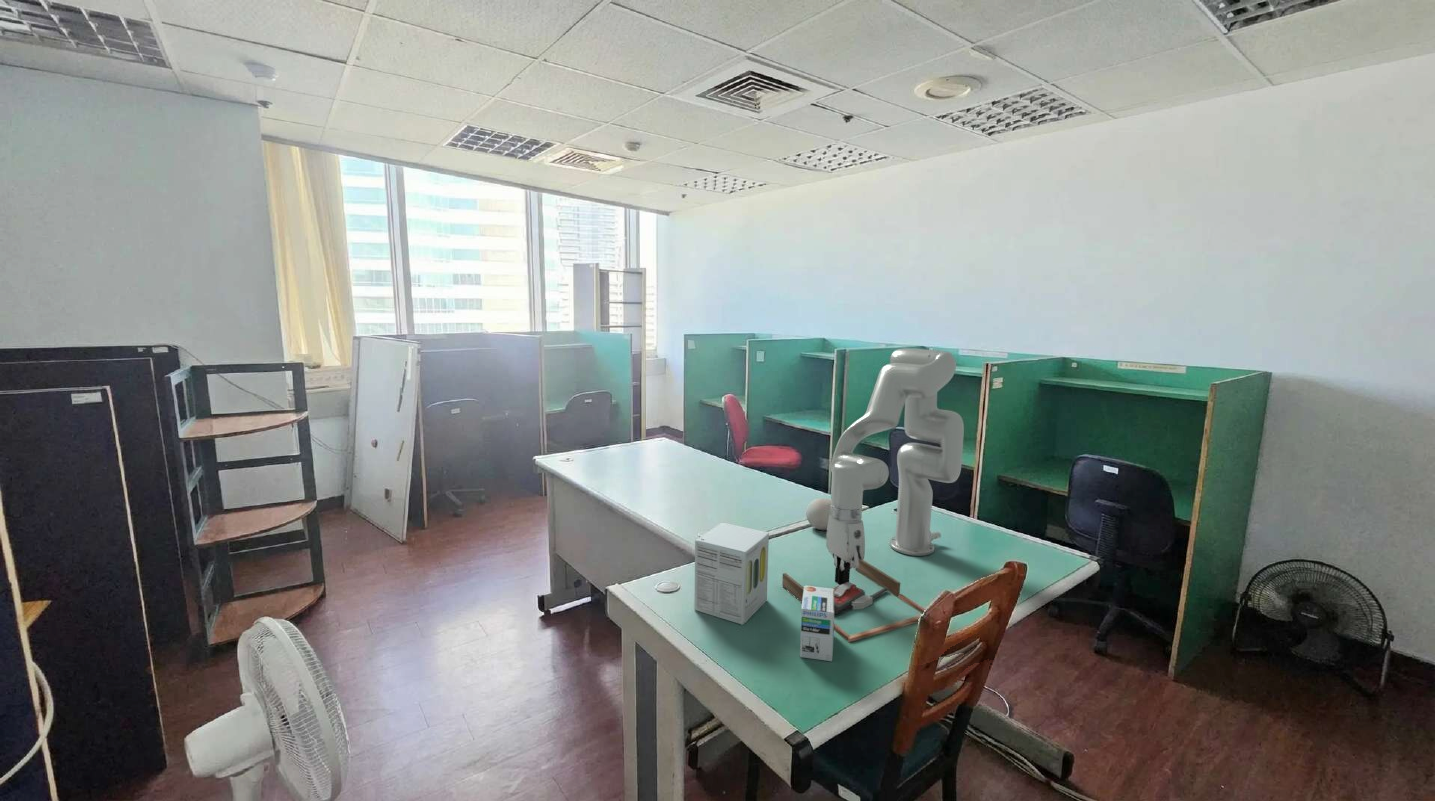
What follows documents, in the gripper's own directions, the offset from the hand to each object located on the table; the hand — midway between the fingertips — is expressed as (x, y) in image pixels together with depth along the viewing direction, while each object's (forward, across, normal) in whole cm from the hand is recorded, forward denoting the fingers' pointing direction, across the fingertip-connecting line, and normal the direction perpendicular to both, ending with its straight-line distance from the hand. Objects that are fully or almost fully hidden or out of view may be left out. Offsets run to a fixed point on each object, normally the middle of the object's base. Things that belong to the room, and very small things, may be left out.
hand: (841, 582), depth 144 cm
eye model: (+3, +37, -20) cm, 42 cm away
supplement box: (+3, +6, +28) cm, 29 cm away
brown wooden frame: (+3, -5, 0) cm, 6 cm away
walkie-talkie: (+4, -4, 0) cm, 5 cm away
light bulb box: (+3, -16, +19) cm, 25 cm away
